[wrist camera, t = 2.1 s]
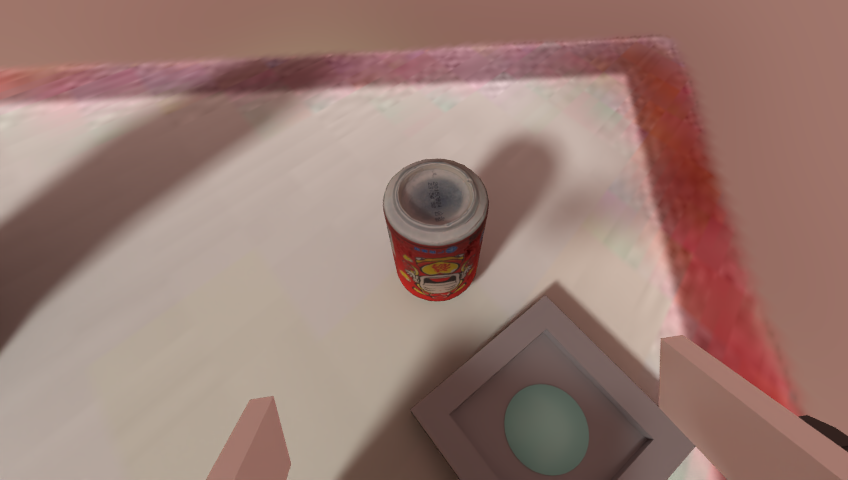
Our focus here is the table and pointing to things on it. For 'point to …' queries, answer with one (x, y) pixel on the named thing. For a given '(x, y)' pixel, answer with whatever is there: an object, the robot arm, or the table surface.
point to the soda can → (436, 226)
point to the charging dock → (548, 410)
